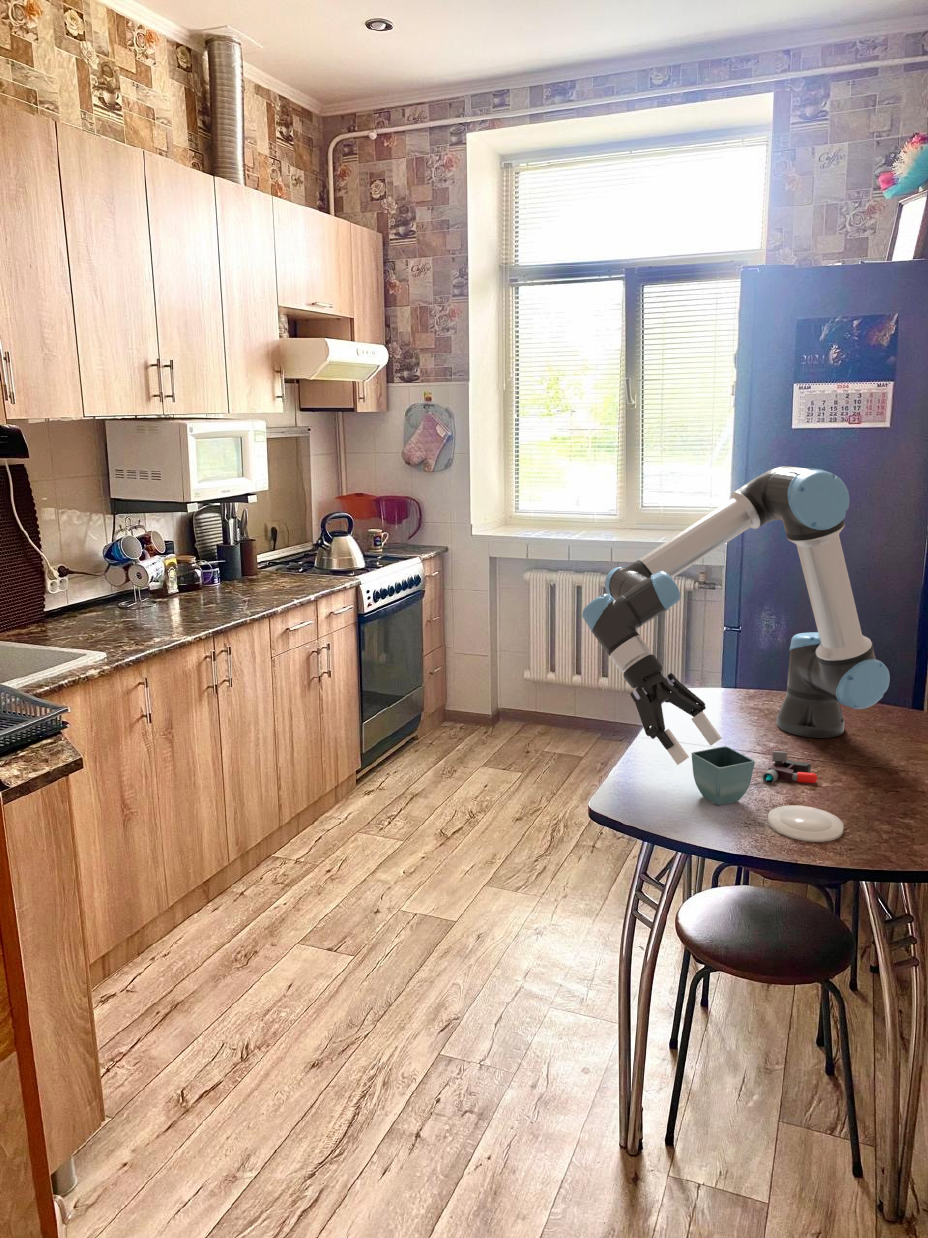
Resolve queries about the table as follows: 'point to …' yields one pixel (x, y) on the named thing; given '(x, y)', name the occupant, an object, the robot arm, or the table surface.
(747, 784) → the flower pot
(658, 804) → the table surface
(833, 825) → the saucer
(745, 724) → the table surface
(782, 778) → the toy gun
